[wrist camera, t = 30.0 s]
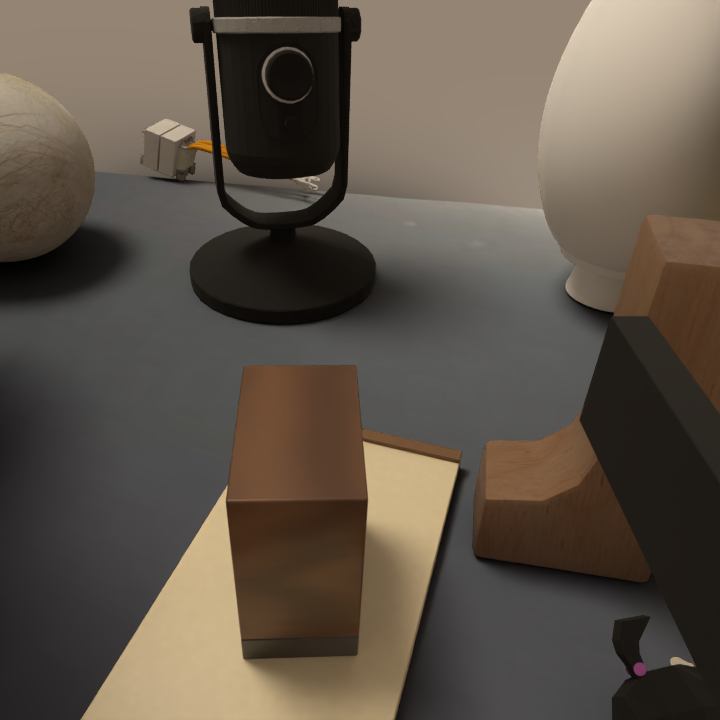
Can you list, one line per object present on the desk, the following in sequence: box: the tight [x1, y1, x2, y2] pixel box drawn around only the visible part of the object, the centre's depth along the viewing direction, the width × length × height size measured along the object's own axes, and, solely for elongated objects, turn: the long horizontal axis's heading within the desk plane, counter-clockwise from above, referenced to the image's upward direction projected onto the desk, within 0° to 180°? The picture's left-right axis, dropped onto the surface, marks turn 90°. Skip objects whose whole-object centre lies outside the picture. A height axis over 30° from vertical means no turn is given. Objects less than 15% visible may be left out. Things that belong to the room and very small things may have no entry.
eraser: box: [226, 365, 368, 659], centre depth 30 cm, size 5×8×10 cm, turn 3°
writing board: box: [81, 429, 462, 720], centre depth 33 cm, size 12×22×1 cm, turn 163°
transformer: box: [140, 119, 320, 192], centre depth 74 cm, size 6×20×5 cm
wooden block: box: [472, 215, 720, 582], centre depth 32 cm, size 9×4×18 cm, turn 81°
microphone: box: [190, 0, 376, 324], centre depth 50 cm, size 16×16×30 cm
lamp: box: [538, 0, 720, 313], centre depth 48 cm, size 16×16×35 cm
